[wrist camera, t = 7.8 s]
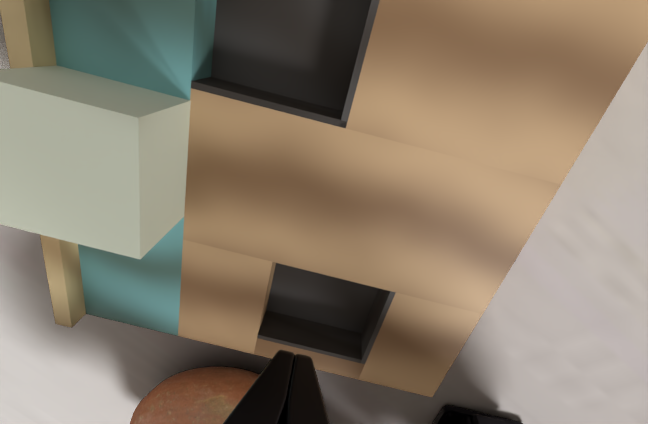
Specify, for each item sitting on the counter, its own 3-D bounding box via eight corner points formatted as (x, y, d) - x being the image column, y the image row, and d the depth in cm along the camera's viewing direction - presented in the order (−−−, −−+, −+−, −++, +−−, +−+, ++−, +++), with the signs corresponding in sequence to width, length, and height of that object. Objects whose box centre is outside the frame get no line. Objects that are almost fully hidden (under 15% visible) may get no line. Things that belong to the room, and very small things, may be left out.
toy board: (425, 365, 24) (435, 415, 21) (97, 285, 24) (55, 323, 21) (627, -1, 14) (710, -14, 11) (56, -157, 13) (-42, -223, 10)
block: (184, 216, 18) (140, 259, 14) (71, 187, 18) (-3, 223, 14) (190, 100, 15) (138, 117, 11) (57, 65, 15) (-38, 72, 11)
